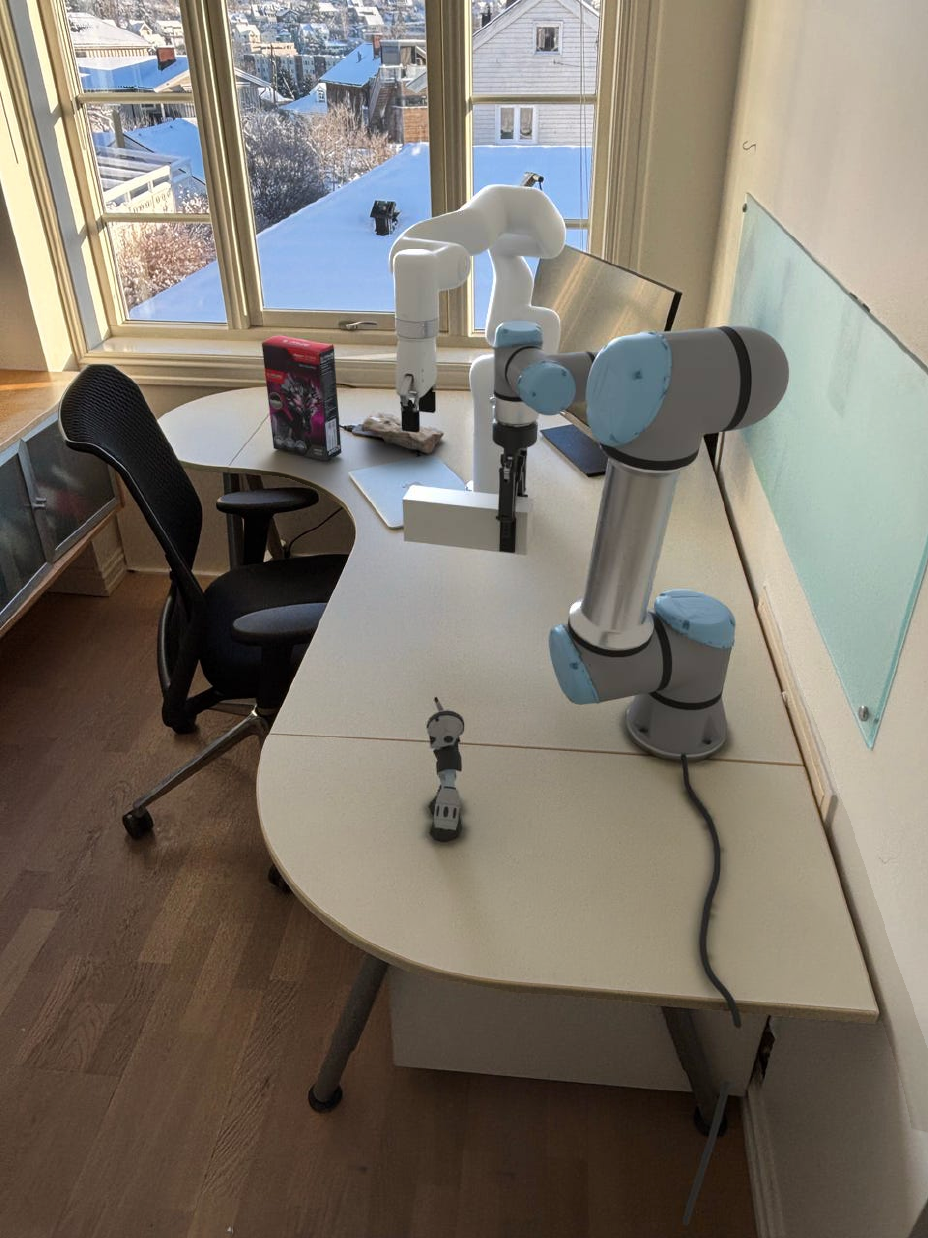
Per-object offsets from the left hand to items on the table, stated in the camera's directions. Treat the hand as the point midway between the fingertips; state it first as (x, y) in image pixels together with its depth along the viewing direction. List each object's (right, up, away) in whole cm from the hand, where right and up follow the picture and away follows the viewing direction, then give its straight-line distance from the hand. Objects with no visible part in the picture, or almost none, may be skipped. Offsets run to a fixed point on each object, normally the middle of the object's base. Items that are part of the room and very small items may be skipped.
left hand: (419, 421), depth 168 cm
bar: (+9, -22, -1) cm, 24 cm away
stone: (-8, +9, +67) cm, 68 cm away
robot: (+6, -64, -41) cm, 76 cm away
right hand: (+17, -22, -3) cm, 28 cm away
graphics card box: (-31, +6, +62) cm, 69 cm away
